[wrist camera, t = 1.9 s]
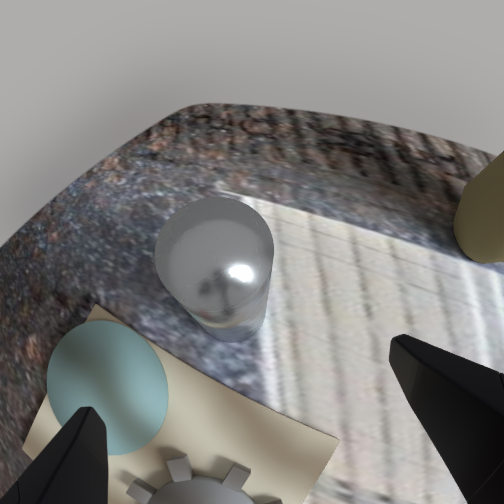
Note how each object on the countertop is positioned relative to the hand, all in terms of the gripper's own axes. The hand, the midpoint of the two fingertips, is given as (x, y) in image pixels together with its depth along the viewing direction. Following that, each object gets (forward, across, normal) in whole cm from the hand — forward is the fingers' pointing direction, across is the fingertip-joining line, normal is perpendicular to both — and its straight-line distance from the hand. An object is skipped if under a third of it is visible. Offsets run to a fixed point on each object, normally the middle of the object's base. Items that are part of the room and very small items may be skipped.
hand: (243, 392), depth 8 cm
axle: (+14, 0, +6) cm, 15 cm away
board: (+6, +8, +13) cm, 16 cm away
